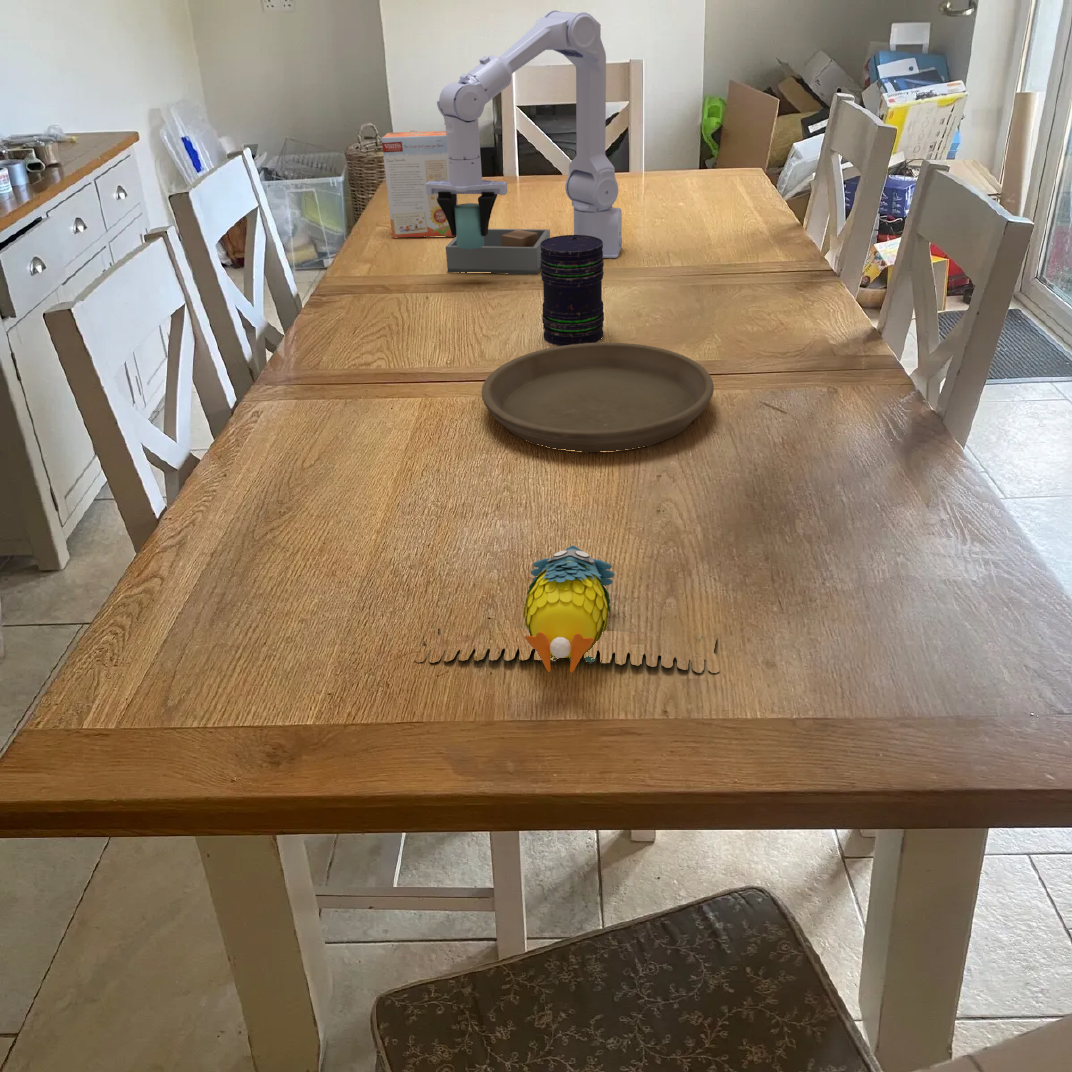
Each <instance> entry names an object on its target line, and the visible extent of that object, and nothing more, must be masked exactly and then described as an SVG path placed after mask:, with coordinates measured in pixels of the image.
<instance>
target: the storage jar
mask: <svg viewBox="0 0 1072 1072" xmlns="http://www.w3.org/2000/svg"><path fill="white" fill-rule="evenodd" d="M540 248H541V251H542V252H541V260H540V266H541V270H540V272H541V273H540V277H541V281H542V282H543V283H542V288H543V293H542V294H543V302H542V305H541V306H542V314H541V317H542V318H541V319H542V322H541V323H542V326H543V328H542V329H543V331H544V332H543V335H542V336H543V339H544V341H545V342H546V343H549V344H551V345H554V346H557V347H559V346H565V345H572V344H583V343H595V342H596V343H598V342H600V341H601V340H602V339H603V338H602V337H604V329H603V328H604V321H605V313H604V301H603V300H602V296H603V295H602V294H603V293H602V292H603V290H602V288H603V287H602V286H603V285H602V284H603V283H602V280H603V278H604V273H605V272H604V265H605V263H604V261H605V260H604V259H605V258H603V251H602V249H603V241H602V240H601V239H599V238H597V237H593V236H587V235H574V234H565V235H564V234H563V235H557V236H552V237H551V236H550V238H548V239H545V240H543V241H542V242H541V243H540ZM601 338H602V339H601ZM599 340H600V341H599ZM597 341H598V342H597Z"/></svg>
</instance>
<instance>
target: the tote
mask: <svg viewBox="0 0 1072 1072" xmlns="http://www.w3.org/2000/svg"><path fill="white" fill-rule="evenodd" d="M515 230H523V231H529V232H536V233H538V241H537V242H536V244H535V245H534V247H502V239H501V235H504V234H507V233H510V232H512V231H515ZM548 238H551V230H550V229H549V228H547V229H544V228H542V229H538V228H536V229H533V228H488V234H487V235H486V236H484V246H483V247H480V248H476V249H461V248H458V247H457V239H456V237H453V238H452V240H451V241H450V242H449V243H448V244H447V245H446V246H445V255H446V256H445V257H446V267H447V273H448V272H459V273H458V274H462V273H461V272H465V273H464V274H468V273H467V272H491V273H508V274H507V275H528V274H538V275H539V273H540V272H541V270H540V269H541V266H540V260H541V252H542V251H541V248H540V243H541V242H542V241H543V240H545V239H548ZM539 271H540V272H539Z"/></svg>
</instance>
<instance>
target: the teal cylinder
mask: <svg viewBox="0 0 1072 1072" xmlns="http://www.w3.org/2000/svg"><path fill="white" fill-rule="evenodd" d="M454 213H455V226H456V239H457V247H458V248H461V249H476V248H480V247H483V246H484V236H482V234H481V216H480V209H479V203H476V202H475V203H473V202H469V203H468V202H467V203H459V204H458V205H456V206H454Z"/></svg>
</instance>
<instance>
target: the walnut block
mask: <svg viewBox="0 0 1072 1072" xmlns="http://www.w3.org/2000/svg"><path fill="white" fill-rule="evenodd" d="M501 239H502V247H534V245H535V244H536V242H537V241H538V233H536V232H529V231H523V230H515V231H512V232H510V233H507V234H504V235H501Z"/></svg>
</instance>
